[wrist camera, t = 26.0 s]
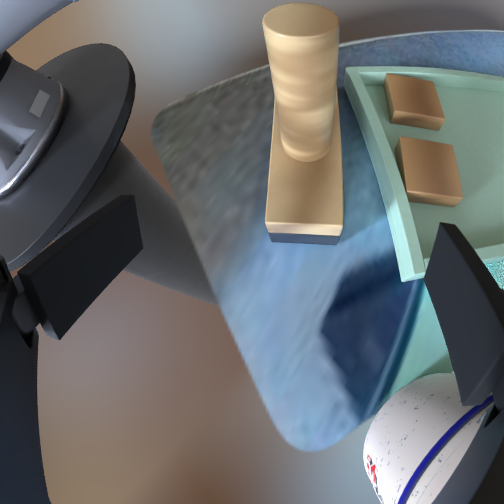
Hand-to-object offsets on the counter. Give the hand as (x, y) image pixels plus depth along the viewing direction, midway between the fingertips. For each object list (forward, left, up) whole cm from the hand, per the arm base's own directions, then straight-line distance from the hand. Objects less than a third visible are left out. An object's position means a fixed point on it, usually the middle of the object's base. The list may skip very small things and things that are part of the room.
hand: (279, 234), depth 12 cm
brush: (+2, +6, -6) cm, 9 cm away
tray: (+20, +6, -6) cm, 21 cm away
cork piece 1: (+11, +10, -5) cm, 16 cm away
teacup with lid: (+9, -13, -6) cm, 17 cm away
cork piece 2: (+10, +4, -5) cm, 12 cm away
